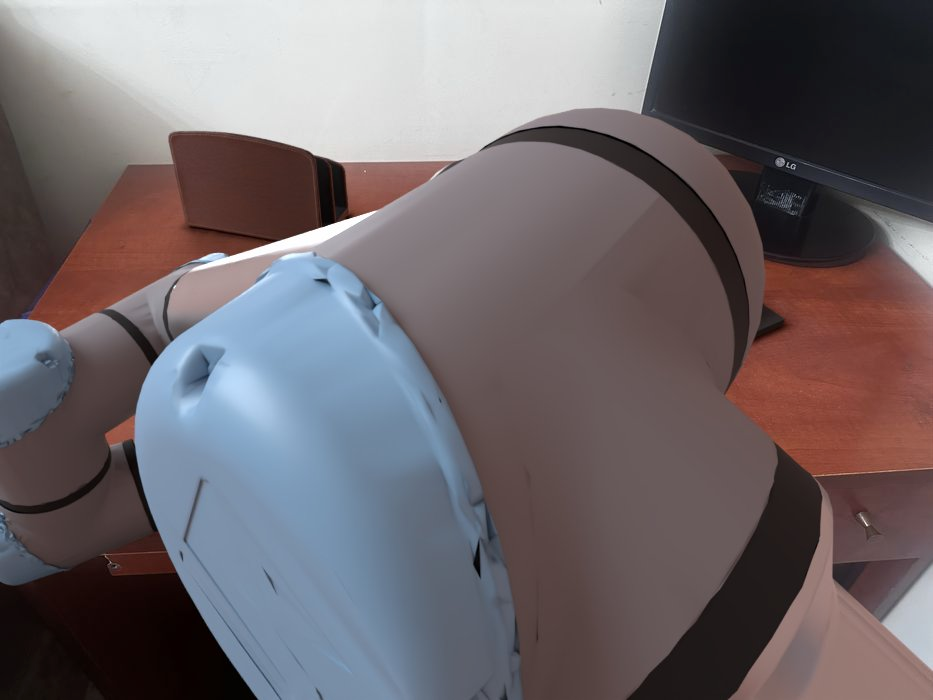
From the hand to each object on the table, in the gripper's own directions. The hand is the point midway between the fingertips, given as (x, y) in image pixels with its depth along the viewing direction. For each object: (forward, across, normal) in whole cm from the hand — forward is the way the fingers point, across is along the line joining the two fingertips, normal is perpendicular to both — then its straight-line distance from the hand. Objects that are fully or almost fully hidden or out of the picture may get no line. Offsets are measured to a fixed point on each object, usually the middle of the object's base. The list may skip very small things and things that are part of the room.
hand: (454, 370), depth 66 cm
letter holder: (-3, -45, -6) cm, 46 cm away
